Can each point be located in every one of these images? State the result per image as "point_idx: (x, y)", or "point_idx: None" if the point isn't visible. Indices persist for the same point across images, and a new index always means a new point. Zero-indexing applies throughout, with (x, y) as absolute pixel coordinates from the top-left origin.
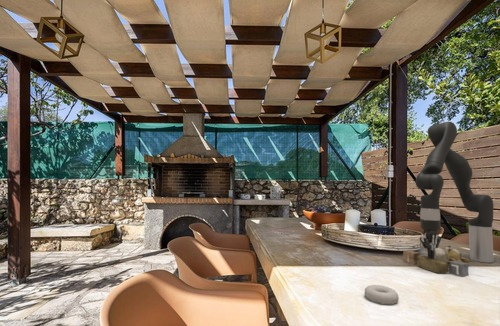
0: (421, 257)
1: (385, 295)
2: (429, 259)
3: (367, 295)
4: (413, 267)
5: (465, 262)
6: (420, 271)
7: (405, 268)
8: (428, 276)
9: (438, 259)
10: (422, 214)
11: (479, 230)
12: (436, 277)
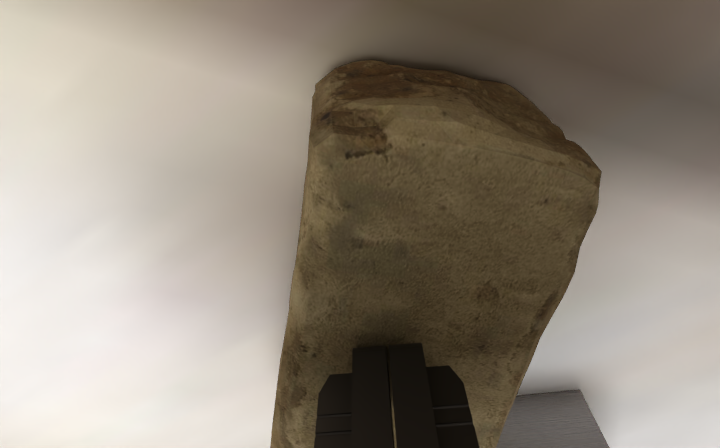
0: (305, 236)
1: None
2: (297, 392)
3: None
4: (204, 92)
5: None
6: (146, 263)
7: (12, 92)
8: (90, 401)
9: (492, 413)
10: None
11: None
12: (156, 439)
